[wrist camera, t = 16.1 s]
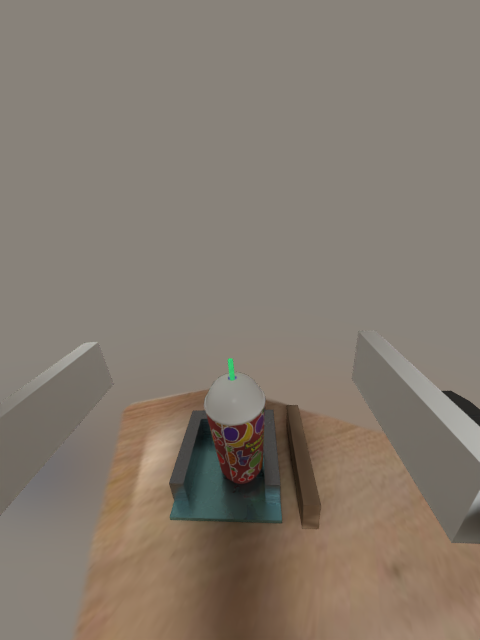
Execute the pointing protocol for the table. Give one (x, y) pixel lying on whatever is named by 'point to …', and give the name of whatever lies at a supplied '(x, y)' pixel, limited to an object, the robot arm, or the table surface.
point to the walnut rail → (303, 471)
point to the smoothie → (237, 424)
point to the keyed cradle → (223, 480)
